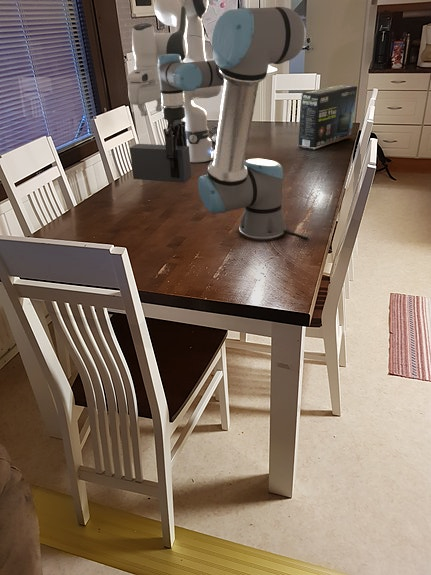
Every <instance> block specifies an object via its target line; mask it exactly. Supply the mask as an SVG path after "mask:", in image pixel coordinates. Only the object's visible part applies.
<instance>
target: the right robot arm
mask: <svg viewBox="0 0 431 575" xmlns="http://www.w3.org/2000/svg"><path fill="white" fill-rule="evenodd" d="M306 32H307V31H306V26H305V23H304V20H303V19H302V18H301V16H300V14H298V13H297V12H296V11H295V10H293V9H291V8H289V7H285V6H275V7H272V6H271V7H243V6H242V7H239V8H234V9H228V10H226V11H224V12H223V13H222V15H220V16H219V17H218V19H217V20H216V22H215V24H214V28H213V31H212V36H211V50H213V51H212V58H213V59H212V60H211V59H210V60H206V61H199V62H188V63H185V62H183V61H181V56H180V55H179V54H163V55H160V56H159V57H158V71H159V80H160V90H161V96H160V98H161V100H162V106H163V107H161V109H162V111H161V112H162V118H163V120H165V121H167V123H166V124H167V125H166V127H167V128H163V135H164V145H165V147H166V158H167V159H170V169H171V177H172V178H179V169H178V159H176V152H177V146H187V139H186V129H185V127H186V122H185V121H184V119H183V118H185V107H184V106H183V105H184V104H185V103H184V92H183V90H184V91H194V90H196V89H198V88H206V87H213V86H222V93H221V100H220V110H219V116H218V125H217V133H216V134H217V140H216V142H215V149H214V150H215V156H214V160H210V162H209V163H208V164H207V171H206V174H202V175H201V176H199V177H198V180H197V191H198V194H199V197H200V200H201V203H202V204H203V206H204V208H205V209H206V210H207V211H208V212H209V213H210V214H213V215H217V214H225V213H228V212H230V211H234V210H238V209H244V211H243V213H242V216H241V220H240V222H239V226H238V232H239V235H240V236H241V237H242V238H244V239H247V240H250V241H254V242H271V241H277V240H279V239H281V238H283V237H285V235H289V236H293V237H296V238H298V239H302V240H305V241H308V240H309V237H308V236H305V235H301V234H299V233H296V232H293V231H289V230H287V223H286V221H285V216H284V214H283V210H282V200H283V181H284V180H283V179H284V174H283V173H284V172H283V171H284V169H283V166H282V164H280V162H277V161H275V160H270V159H265V158H249V159H246V156H247V150H248V144H249V140H250V134H251V130H252V129H251V128H252V123H253V116H254V112H255V106H256V100H257V95H258V90H259V89H258V88H259V84H260V83H261V82H263V81H264V80H265V79H266V77H267V75H268V70H269V66H270V65H272V64H273V65H281V64H284V63H285V62H289V61H291V60H293V59H294V58H296V57H297V56H299V54H300V53H301V52H302V50H303V48H304V46H305V42H306V36H307V33H306Z"/></svg>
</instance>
